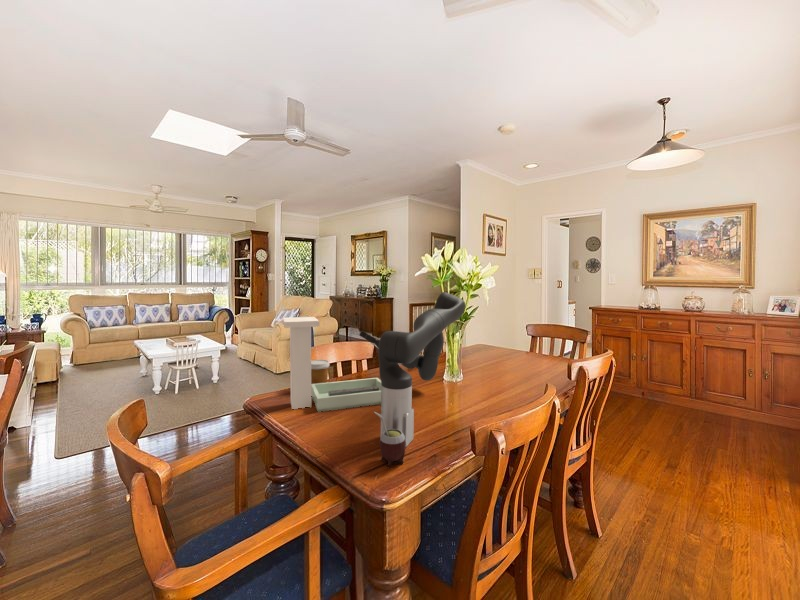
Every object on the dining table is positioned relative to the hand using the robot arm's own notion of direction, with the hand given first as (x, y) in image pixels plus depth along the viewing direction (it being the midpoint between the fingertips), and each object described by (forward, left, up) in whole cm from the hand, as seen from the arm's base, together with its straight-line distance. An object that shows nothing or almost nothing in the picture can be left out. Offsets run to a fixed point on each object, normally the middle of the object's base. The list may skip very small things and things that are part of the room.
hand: (363, 334), depth 141 cm
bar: (+2, +3, -25) cm, 25 cm away
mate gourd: (-31, +40, -26) cm, 57 cm away
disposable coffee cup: (+23, -1, -26) cm, 35 cm away
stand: (+17, +17, -26) cm, 36 cm away
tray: (+4, +4, -26) cm, 26 cm away
